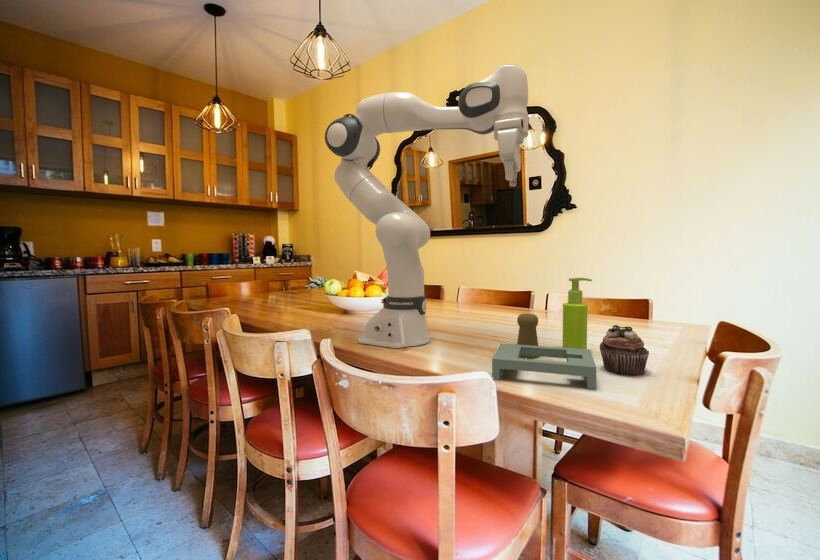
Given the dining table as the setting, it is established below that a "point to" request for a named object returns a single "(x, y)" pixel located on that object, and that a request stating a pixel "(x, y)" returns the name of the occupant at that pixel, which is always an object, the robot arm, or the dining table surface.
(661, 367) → the dining table surface
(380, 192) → the robot arm
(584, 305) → the soap dispenser
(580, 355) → the grey-green slotted stand
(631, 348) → the cupcake
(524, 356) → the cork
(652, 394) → the dining table surface
